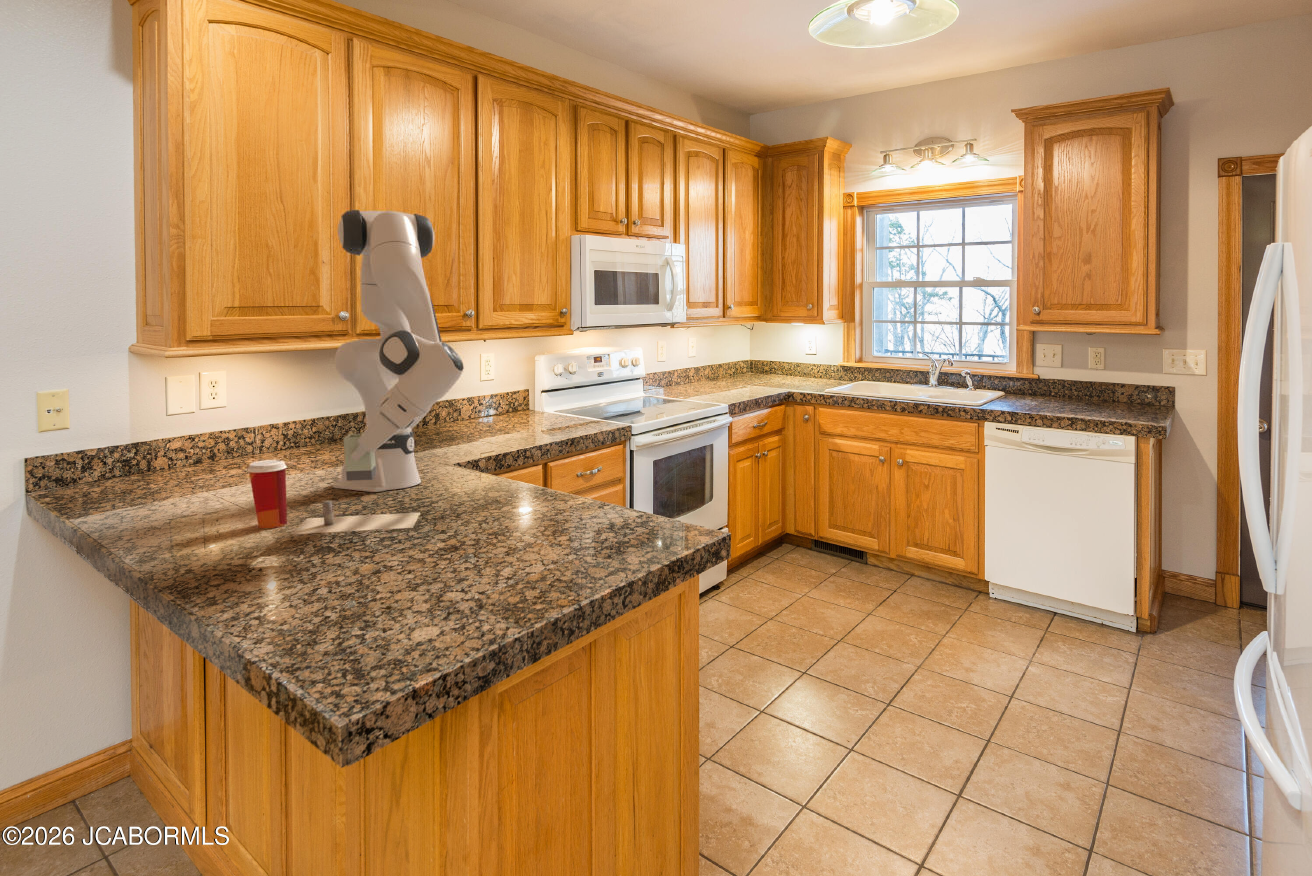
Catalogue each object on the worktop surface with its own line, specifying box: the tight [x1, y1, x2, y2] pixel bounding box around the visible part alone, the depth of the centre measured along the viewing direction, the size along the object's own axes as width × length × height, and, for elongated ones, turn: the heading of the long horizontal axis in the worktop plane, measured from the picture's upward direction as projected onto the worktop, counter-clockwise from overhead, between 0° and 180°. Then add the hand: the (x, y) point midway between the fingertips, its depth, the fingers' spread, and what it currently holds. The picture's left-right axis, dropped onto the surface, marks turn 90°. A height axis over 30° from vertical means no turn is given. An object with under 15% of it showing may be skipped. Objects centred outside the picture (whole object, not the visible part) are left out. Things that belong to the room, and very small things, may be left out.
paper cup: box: [247, 459, 288, 530], centre depth 166 cm, size 8×8×14 cm
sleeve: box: [343, 433, 376, 481], centre depth 161 cm, size 5×5×9 cm
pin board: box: [290, 500, 421, 535], centre depth 162 cm, size 24×12×6 cm, turn 100°
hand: (356, 455), depth 160 cm, fingers closed on sleeve, 5 cm apart
